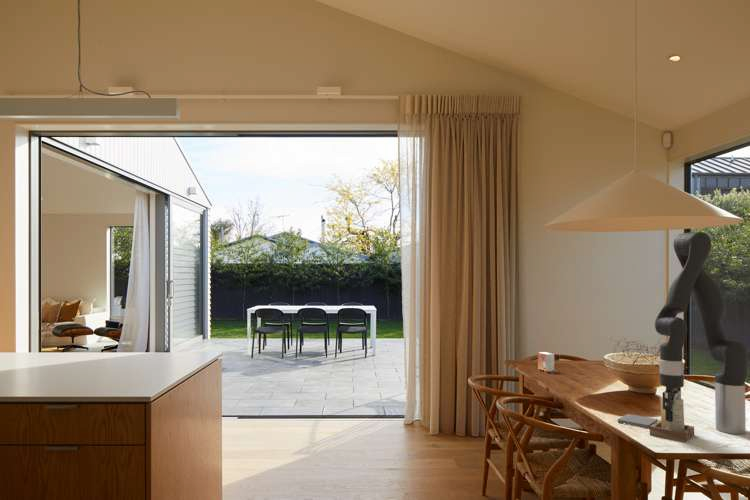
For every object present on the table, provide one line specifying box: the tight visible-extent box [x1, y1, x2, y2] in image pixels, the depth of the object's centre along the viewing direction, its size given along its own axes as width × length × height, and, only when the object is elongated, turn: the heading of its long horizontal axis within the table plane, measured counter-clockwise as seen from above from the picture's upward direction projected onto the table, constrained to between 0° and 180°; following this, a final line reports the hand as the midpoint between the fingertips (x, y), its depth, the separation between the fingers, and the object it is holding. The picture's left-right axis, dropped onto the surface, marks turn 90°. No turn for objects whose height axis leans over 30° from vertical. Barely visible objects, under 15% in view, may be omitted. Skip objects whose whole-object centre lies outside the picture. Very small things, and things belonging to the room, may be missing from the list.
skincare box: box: [659, 396, 685, 432], centre depth 191 cm, size 6×4×12 cm
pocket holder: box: [649, 419, 695, 443], centre depth 191 cm, size 11×11×3 cm
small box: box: [537, 351, 555, 371], centre depth 308 cm, size 8×6×10 cm
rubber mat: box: [617, 413, 659, 429], centre depth 206 cm, size 11×11×1 cm
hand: (672, 418), depth 191 cm, fingers closed on skincare box, 7 cm apart
